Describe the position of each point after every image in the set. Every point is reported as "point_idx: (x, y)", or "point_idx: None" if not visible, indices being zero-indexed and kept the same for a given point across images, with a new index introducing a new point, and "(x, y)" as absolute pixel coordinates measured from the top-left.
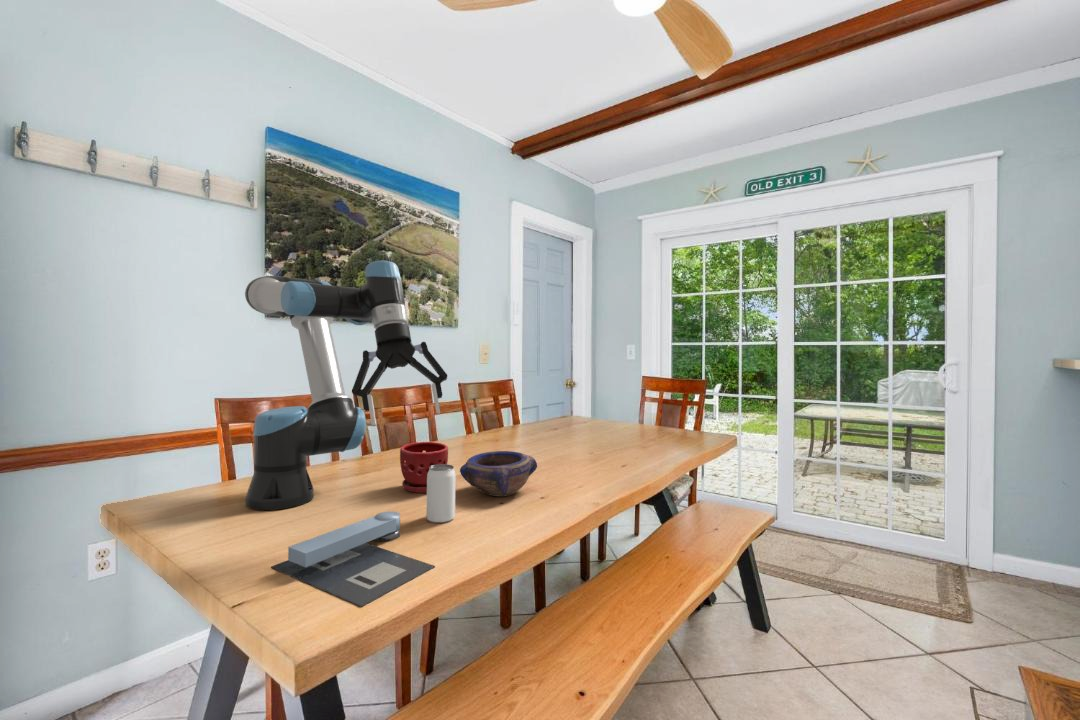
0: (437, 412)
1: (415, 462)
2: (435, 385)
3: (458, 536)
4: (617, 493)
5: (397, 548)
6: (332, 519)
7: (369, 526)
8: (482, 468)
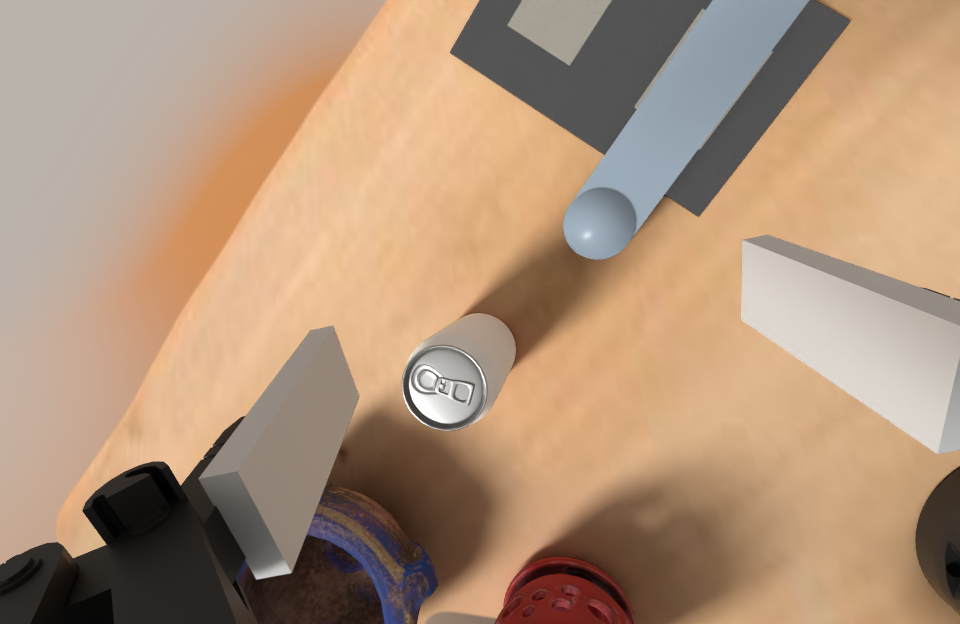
0: (329, 328)
1: (584, 618)
2: (213, 460)
3: (422, 228)
4: (88, 497)
5: (553, 153)
6: (785, 356)
7: (632, 143)
8: (350, 528)
